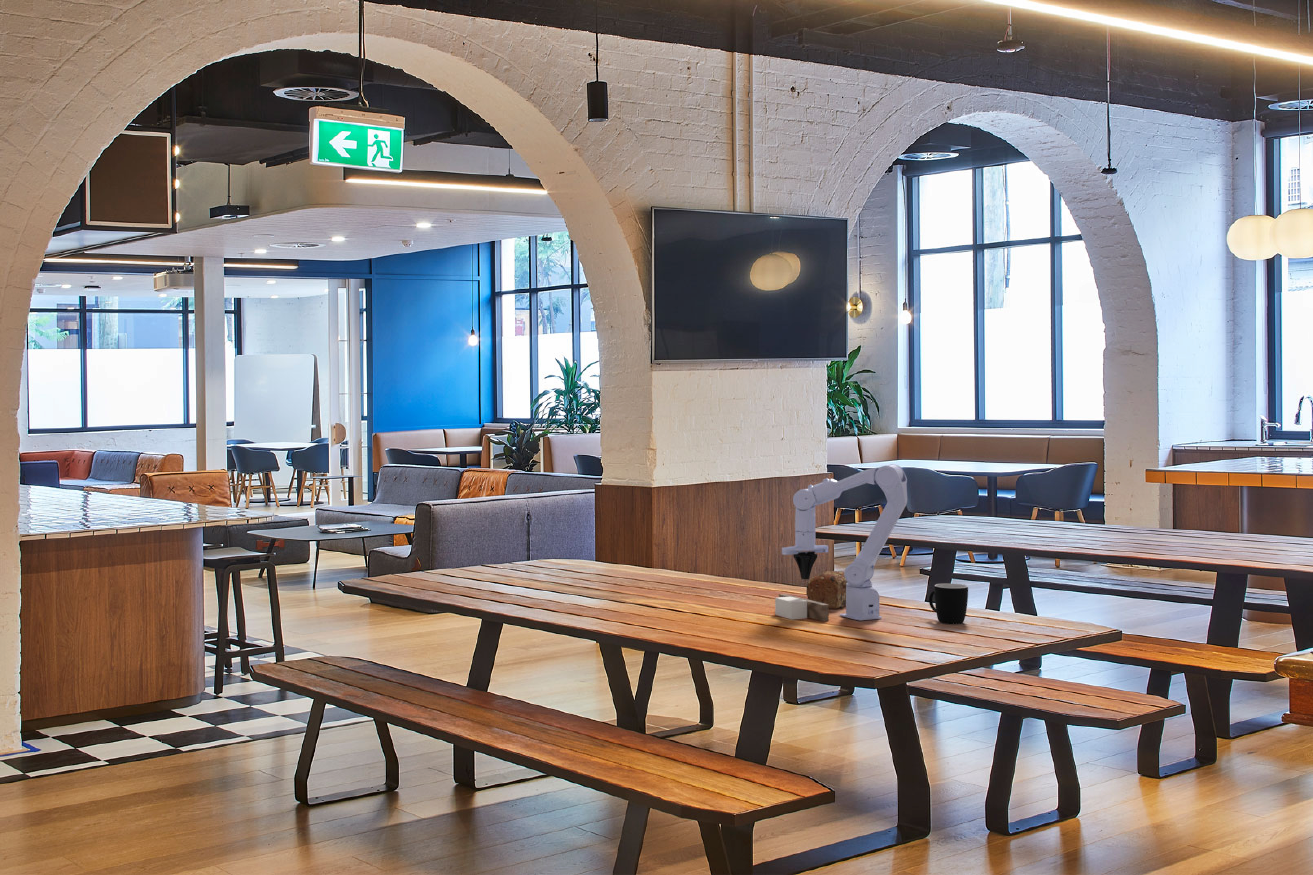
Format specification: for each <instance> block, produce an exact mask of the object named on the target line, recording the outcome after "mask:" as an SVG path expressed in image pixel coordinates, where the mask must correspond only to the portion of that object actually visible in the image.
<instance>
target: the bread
mask: <svg viewBox="0 0 1313 875" xmlns="http://www.w3.org/2000/svg"><path fill="white" fill-rule="evenodd" d="M844 572H845V571H844V570H843V571H842V570H839V571H836V570H826V571H824V572H822V573H819V574H816V575H814V576H813V577H811V578H809V580H808V582H807V584H806V594H805V595H806V596H807V598H806V599H808V600H812V601H816V602H820V603H824V604H829V610H836V609H837V610H839V609H840V608H845V607H846V583H848V582H847V581H846V579H845V576H844ZM844 606H845V607H844Z"/></svg>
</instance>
